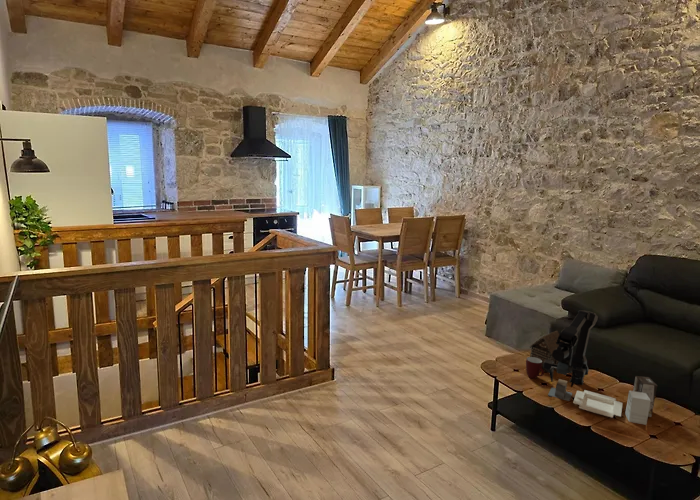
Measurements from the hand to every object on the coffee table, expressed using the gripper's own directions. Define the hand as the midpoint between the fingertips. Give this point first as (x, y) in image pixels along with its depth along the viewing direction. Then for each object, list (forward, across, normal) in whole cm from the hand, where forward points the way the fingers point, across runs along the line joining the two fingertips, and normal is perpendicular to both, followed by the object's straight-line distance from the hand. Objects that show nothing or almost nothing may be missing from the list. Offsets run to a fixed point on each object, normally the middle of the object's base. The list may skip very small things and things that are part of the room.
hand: (561, 384), depth 235 cm
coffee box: (+6, +35, +7) cm, 36 cm away
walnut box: (+5, 0, 0) cm, 5 cm away
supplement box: (+6, +33, -4) cm, 34 cm away
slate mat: (+6, 0, 0) cm, 6 cm away
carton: (+6, +17, -2) cm, 18 cm away
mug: (+6, -15, +12) cm, 20 cm away
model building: (+6, -13, +33) cm, 36 cm away
